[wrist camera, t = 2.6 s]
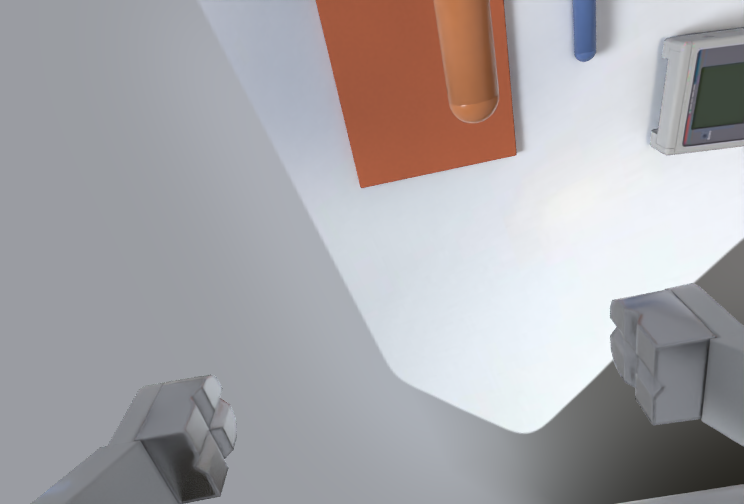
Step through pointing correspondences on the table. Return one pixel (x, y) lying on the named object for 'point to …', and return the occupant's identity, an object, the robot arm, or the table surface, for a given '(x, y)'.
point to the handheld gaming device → (702, 93)
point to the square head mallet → (468, 57)
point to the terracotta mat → (408, 90)
